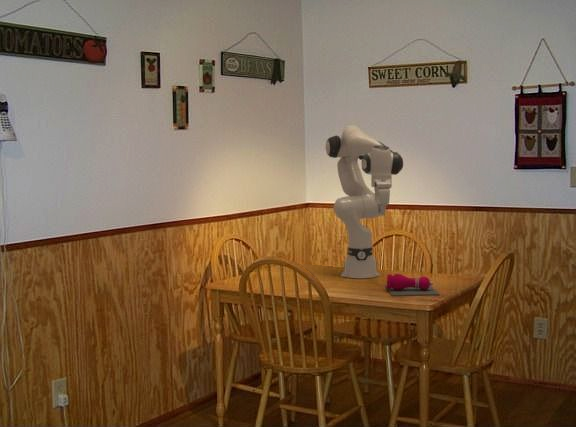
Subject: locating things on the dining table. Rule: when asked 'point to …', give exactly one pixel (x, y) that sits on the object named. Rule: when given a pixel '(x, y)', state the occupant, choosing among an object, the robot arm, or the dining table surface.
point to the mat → (413, 291)
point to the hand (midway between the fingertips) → (381, 214)
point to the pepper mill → (407, 282)
